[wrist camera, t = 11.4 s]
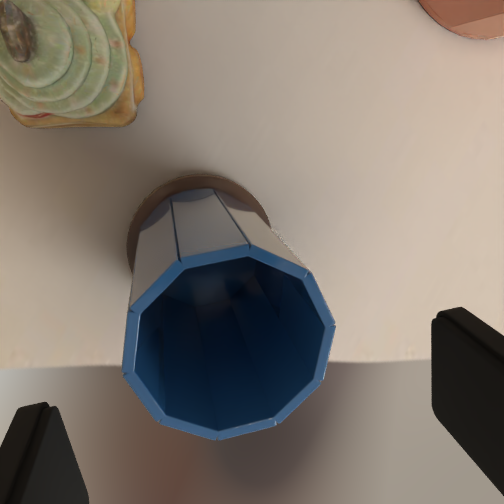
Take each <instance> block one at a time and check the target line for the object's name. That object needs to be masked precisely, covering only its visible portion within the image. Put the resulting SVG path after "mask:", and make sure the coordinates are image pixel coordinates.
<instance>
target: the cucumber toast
mask: <svg viewBox="0 0 504 504" xmlns="http://www.w3.org/2000/svg"><path fill="white" fill-rule="evenodd" d="M135 23H136V19H135V0H0V98H1V99H2V101H3V102H4V103H6V104H7V105H8V106H9V108H10V111H11V114H12V115H13V116H14V118H15V119H16V120H18V121H19V122H20V123H21V124H22V125H24V126H26V127H31V128H69V127H123V126H126V125H129V124H130V123H132V122H133V121H134V120H135V118H136V116H137V106H138V104H139V103H140V102H141V101H142V100H143V98H144V77H143V70H142V64H141V60H140V56H139V53H138V52H137V50H136V49H134V48H133V47H131V45H130V40H131V38H132V37H133V35H134V33H135Z"/></svg>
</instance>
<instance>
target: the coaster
mask: <svg viewBox="0 0 504 504" xmlns="http://www.w3.org/2000/svg"><path fill="white" fill-rule="evenodd" d="M206 188H211V189H213V188H215V189H217V190H219V191H221V192H224V193H227V194H229V195H231V196H233V197H234V198H236V199H238V200H239V201H241V202H244V203H246V204H248V205H249V206H250V207H251V208H252V209H253V210H254V212H255V213H256V214H257V215H258V216H259V217H260V218H261V219H262V220H263V221H264V222H265V223H266V224H267V225H268V227H269V228H270V229H271V226H270V223H269V220H268V217H267V215H266V213H265V211H264V209H263V208H262V207H261V205H260V204H259V202H258V201H257V200H256V199H255V198H254V197H253V196H252V195H251V194H250V193H249V192H248V191H247V190H245V189H244V188H243V187H241V186H240V185H238V184H236V183H235V182H233V181H230V180H228V179H226V178H222V177H219V176H214V175H206V174H196V175H187V176H183V177H179V178H176V179H174V180H171V181H169V182H167V183H165V184H163V185H161V186H160V187H158V188H157V189H156V190H154V191H153V192H152V193H151V194H150V195H149V196H148V197H147V198H146V199H145V200H144V201H143V202H142V204H141V205H140V206H139V208H138V209H137V211H136V213H135V215H134V217H133V219H132V222H131V225H130V229H129V233H128V239H127V256H128V261H129V265H130V268H131V271H132V274H133V271H134V264H135V257H136V251H137V244H138V237H139V231H140V227H141V224H142V223H143V222H144V221H145V220H146V219H147V218H148V216H149V215H150V214H151V213H152V211H153V210H154V209H155V208H156V207H157V206H158V205H159V204H160V203H162V202H163V201H164V200H165V199H166V198H167V197H168V196H170V197H171V195H172V194H177V193H180V192H183V191H187V190H191V189H206Z"/></svg>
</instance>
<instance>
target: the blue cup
mask: <svg viewBox="0 0 504 504" xmlns="http://www.w3.org/2000/svg"><path fill="white" fill-rule="evenodd" d="M334 324H335V320H334V318H333V316H332V314H331V312H330V310H329V308H328V306H327V304H326V301H325V299H324V297H323V295H322V293H321V291H320V289H319V287H318V285H317V283H316V281H315V279H314V276H313V274H312V273H311V272H310V271H309V270H308V268H307V267H306V266H305V265H304V264H303V263H302V262H301V261H300V260H299V259H298V258H297V257H296V256H295V255H294V253H293V252H292V251H291V250H290V249H289V248H288V247H287V246H286V245H285V244H284V243H283V242H282V241H281V239H280V238H279V237H278V236H277V235H276V234H275V233H274V232H273V231H272V230H271V229H270V228H269V227H268V225H267V224H266V223H265V222H264V221H263V220H262V219H261V218H260V217H259V216H258V215H257V214H256V213H255V212H254V210H253V209H252V208H251V207H250V206H249V205H248V204H246V203H244V202H241V201H239V200H238V199H236V198H234V197H233V196H231V195H229V194H227V193H224V192H221V191H219V190H217V189H215V188H213V189H211V188H206V189H191V190H187V191H183V192H180V193H177V194H172V195H171V197H170V196H168V197H167V198H166V199H165V200H164V201H163V202H162V203H160V204H159V205H158V206H157V207H156V208H155V209H154V210H153V211H152V213H151V214H150V215H149V216H148V218H147V219H146V220H145V221H144V222H143V223H142V224H141V227H140V231H139V237H138V244H137V251H136V257H135V264H134V271H133V277H132V284H131V291H130V297H129V304H128V311H127V320H126V330H125V340H124V350H123V360H122V370H121V371H122V372H123V377H124V379H125V380H126V381H127V383H128V384H129V385H130V387H131V388H132V389H133V391H134V392H135V393H136V395H137V396H138V398H139V399H140V400H141V402H142V403H143V405H144V406H145V407H146V408H147V410H148V411H149V413H150V414H151V416H152V417H153V418H154V420H155V421H159V424H161V425H165V426H168V427H171V428H174V429H178V430H181V431H185V432H188V433H191V434H195V435H198V436H202V437H205V438H208V439H212V440H216V438H218V440H223V439H227V438H231V437H234V436H238V435H242V434H246V433H250V432H254V431H258V430H262V429H266V428H269V427H273V426H276V422H277V423H281V422H282V421H283V420H284V419H285V418H286V417H287V416H288V415H289V414H290V413H291V412H292V411H294V410H295V409H296V408H297V407H298V406H299V405H300V404H301V403H302V402H303V401H304V400H305V399H306V398H307V397H308V396H309V395H310V394H311V393H312V392H313V391H314V390H315V389H316V388H317V387H319V385H321V382H320V381H323V380H324V375H325V371H326V367H327V363H328V358H329V354H330V350H331V346H332V341H333V337H334V333H335V329H336V326H335V325H334Z"/></svg>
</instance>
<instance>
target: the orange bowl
mask: <svg viewBox="0 0 504 504" xmlns="http://www.w3.org/2000/svg"><path fill="white" fill-rule="evenodd" d="M419 2H420V4H421V5H422V6H423V8H424V9H425V10H426V11H427V12H428V14H429V15H430V16H431V17H432V18H433V19H435V20H436V21H437V22H438V23H439V24H440V25H442V26H443V27H445V28H446V29H448V30H450V31H452V32H454V33H456V34H458V35H461V36H465V37H468V38H473V39H483V40H484V39H485V40H486V39H496V38H501V37H504V0H419Z"/></svg>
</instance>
